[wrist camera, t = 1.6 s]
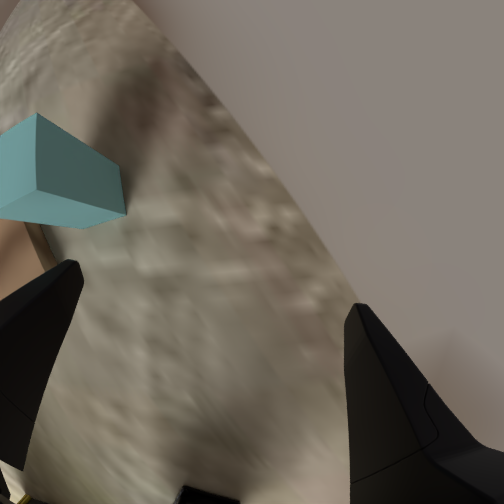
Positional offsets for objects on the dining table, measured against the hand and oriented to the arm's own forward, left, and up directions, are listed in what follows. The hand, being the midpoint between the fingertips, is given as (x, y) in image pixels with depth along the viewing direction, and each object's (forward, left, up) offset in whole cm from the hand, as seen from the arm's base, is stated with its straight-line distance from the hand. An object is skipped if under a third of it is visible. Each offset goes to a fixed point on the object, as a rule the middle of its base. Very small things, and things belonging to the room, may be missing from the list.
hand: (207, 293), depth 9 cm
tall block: (-13, +1, -14) cm, 20 cm away
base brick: (-21, -8, -14) cm, 26 cm away
